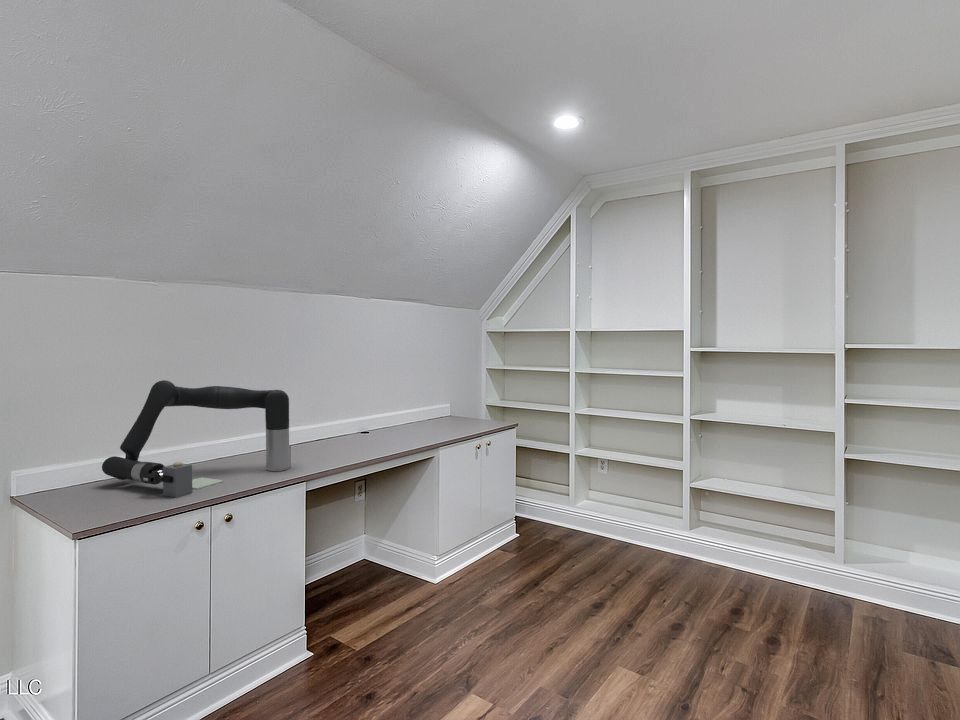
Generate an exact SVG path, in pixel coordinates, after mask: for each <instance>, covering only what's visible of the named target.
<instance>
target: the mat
mask: <svg viewBox="0 0 960 720" xmlns="http://www.w3.org/2000/svg"><path fill="white" fill-rule="evenodd" d="M224 482H225V480H222V479H215V478H210V477H198V478H192V490H200V489H203V488H207V487H210V486H214V485H217V484H221V483H224Z"/></svg>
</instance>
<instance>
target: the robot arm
mask: <svg viewBox="0 0 960 720" xmlns="http://www.w3.org/2000/svg"><path fill="white" fill-rule="evenodd" d="M184 406H185V407H187V406H188V407H198V408H206V409H217V410H219V409H220V410H240V409H248V408H255V409H256V408H257V409H264V411H265V413H264V414H265V415H264V416H265V470H266V471H268V472H280V471H287V470H288V469H290V468H292V448H291V447H292V446H291V444H290V398H289V395H288V393H286V392H285V391H284V390H282V389H270V390H269V389H268V390H266V389H265V390H263V389H261V390H260V389H259V390H256V389H250V388H248V389H247V388H242V387H235V386H234V387H233V386H220V385H213V386H211V385H210V386H205V387H196V388H195V387H194V388H193V387H192V388H191V387H182V386H178V385H177V386H176V385H175V384H174V383H173V382H172V381H169V380H163V379H162V380H159V381H157V382H155V383H154V384H153V385H152V386H151V388H150V391H149V393H148V396H147V398H146V399H145V403H144V405H143V407H142V408H141V410H140V413H139V415H138V416H137V419H136V420H135V421H134V423H133V425H132V427H131V428H130V430H129V431H128V433H127V435H126V436H125V438H124V439H123V441H122V442H121V444H120V446H119V449H120V451H121V452H123V453H124V454H125V457H121V456H118V455H117V456H110V457H108V458H106V459H105V460H104V461H103V463H102V465H101V470H102V472H103V473H104V474H105V475H107V476H109V477H112V478H115V479H118V480H120V481H125V480H130V481H134V482H139V483H143V484H147V485H148V484H149V485H155V486H156V485H159V484H163V483H164V482H166V483H173V477H172V476H164V475H163V467H164V466H165V465H164V464H162V463H160V462H159V463H158V462H152V461H142V460H141V461H140V460H139V458H140V455H141V451H142V450H143V449H144V446H146V443H147V441H148V440H149V438H150V437H151V434H152V432H153V429H154V426H155V424H156V422H157V420H158V418H159V416H160V415H161V413H162V411H163V410H164V409H165V407H184Z"/></svg>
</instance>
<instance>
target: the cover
mask: <svg viewBox="0 0 960 720" xmlns="http://www.w3.org/2000/svg"><path fill="white" fill-rule="evenodd" d="M163 475H164V476H172V477H173V483H166V482H164V483H162V493H163V494H162V495H163V496H164V497H166V496H167V497H169V498H170V497H171V498H180V497H182V496H186V495H190V494H193V489H192V480H193V464H189V463H182V461H179V462H178V461H177V462H173V464H169V465H164V467H163Z"/></svg>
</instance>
